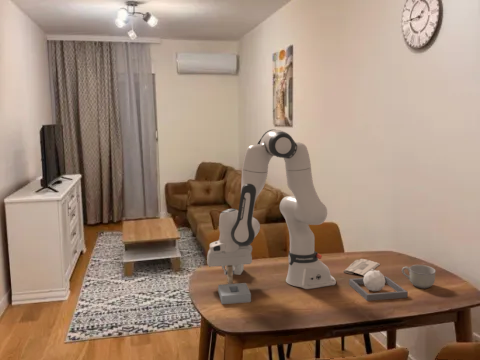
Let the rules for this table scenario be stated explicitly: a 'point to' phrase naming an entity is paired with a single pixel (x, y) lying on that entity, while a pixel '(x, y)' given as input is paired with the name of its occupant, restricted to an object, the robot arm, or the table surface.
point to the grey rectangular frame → (379, 296)
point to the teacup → (420, 275)
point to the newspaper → (361, 267)
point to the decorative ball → (374, 280)
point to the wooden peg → (230, 274)
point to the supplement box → (238, 269)
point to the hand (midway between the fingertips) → (229, 274)
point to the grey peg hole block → (234, 293)
